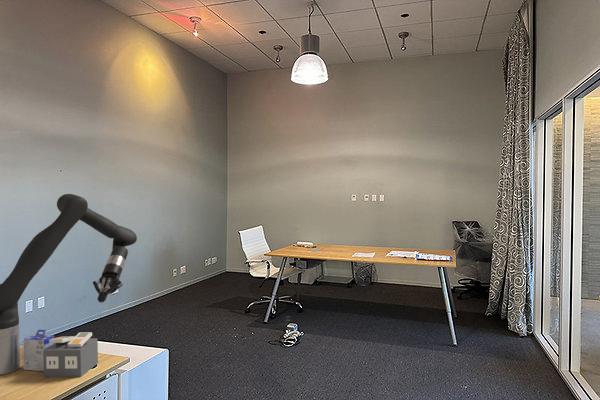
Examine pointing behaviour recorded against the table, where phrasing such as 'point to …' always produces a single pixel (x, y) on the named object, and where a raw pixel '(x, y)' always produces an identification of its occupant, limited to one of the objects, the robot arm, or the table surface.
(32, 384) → the table surface
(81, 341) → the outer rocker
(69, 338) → the inner rocker
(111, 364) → the table surface
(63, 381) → the table surface
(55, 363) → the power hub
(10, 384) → the table surface
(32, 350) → the ink cartridge box
